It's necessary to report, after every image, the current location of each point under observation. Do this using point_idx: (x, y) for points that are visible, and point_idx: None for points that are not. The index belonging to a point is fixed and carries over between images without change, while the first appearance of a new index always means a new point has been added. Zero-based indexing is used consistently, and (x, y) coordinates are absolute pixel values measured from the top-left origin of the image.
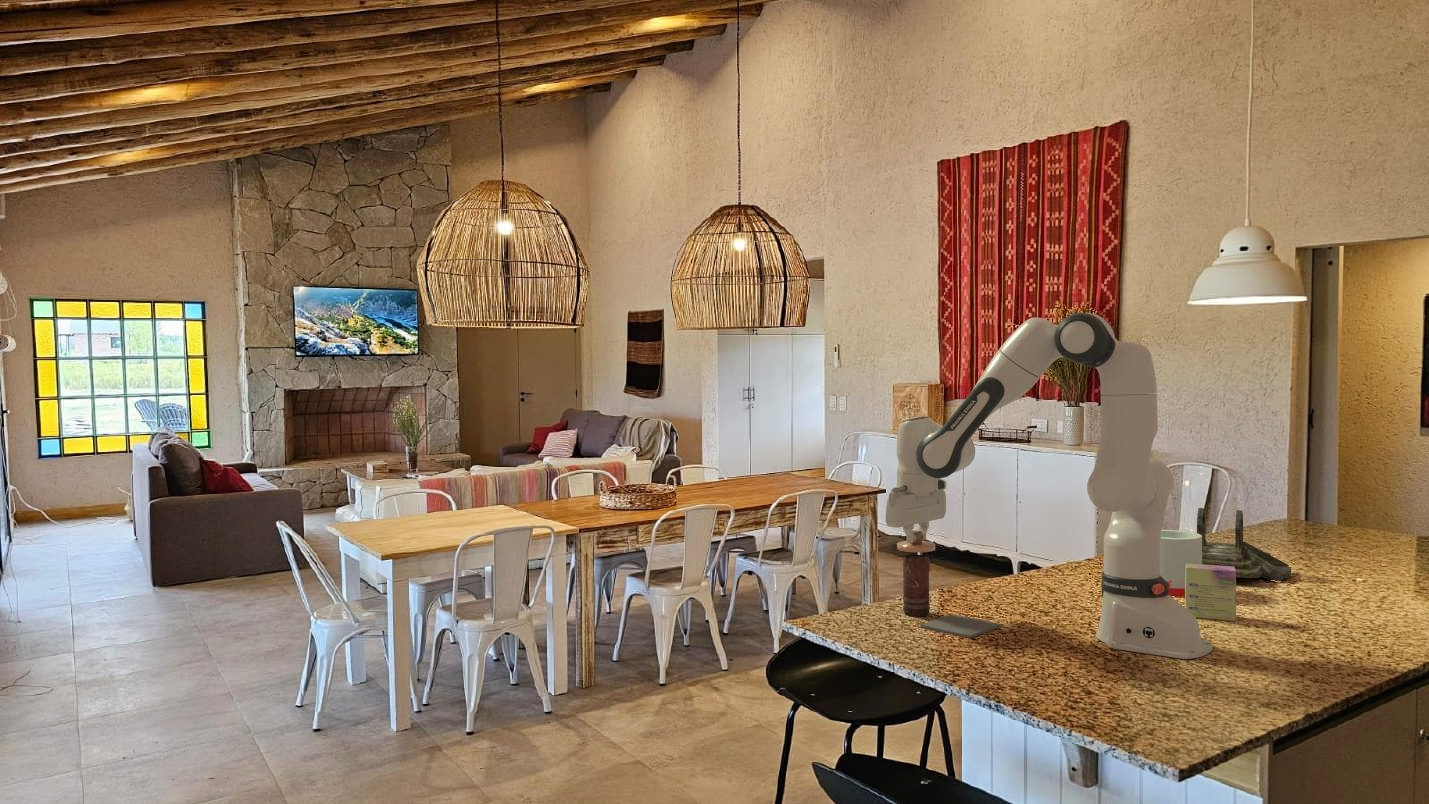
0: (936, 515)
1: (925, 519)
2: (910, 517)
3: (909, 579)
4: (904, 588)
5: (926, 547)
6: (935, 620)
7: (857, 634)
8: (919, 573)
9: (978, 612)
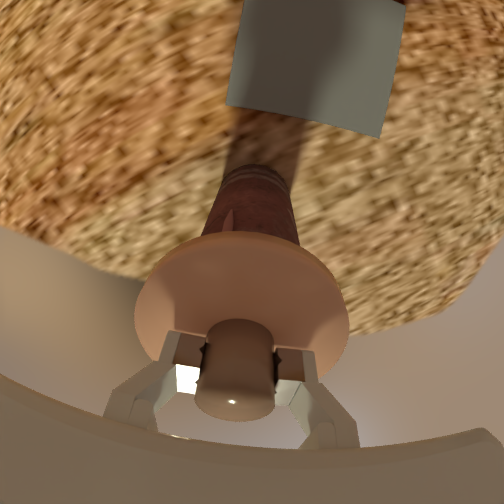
0: (22, 415)
1: (185, 456)
2: (411, 492)
3: None
4: None
5: (307, 265)
6: (318, 117)
7: (464, 236)
8: (289, 229)
9: (141, 71)
